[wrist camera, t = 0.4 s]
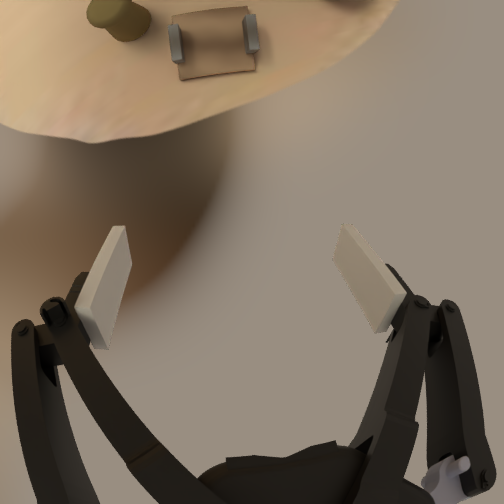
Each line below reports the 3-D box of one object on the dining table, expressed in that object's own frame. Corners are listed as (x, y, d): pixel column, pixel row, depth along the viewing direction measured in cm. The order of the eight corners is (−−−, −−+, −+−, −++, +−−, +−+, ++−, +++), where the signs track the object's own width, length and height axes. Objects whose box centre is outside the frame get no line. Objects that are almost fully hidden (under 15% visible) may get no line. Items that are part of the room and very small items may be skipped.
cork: (127, 0, 23) (102, -24, 14) (159, 14, 25) (142, -9, 16) (102, 33, 25) (68, 20, 16) (133, 48, 27) (106, 36, 18)
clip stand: (171, 18, 26) (165, 9, 22) (247, 8, 26) (253, -3, 22) (179, 80, 32) (174, 79, 27) (255, 70, 32) (261, 67, 28)
